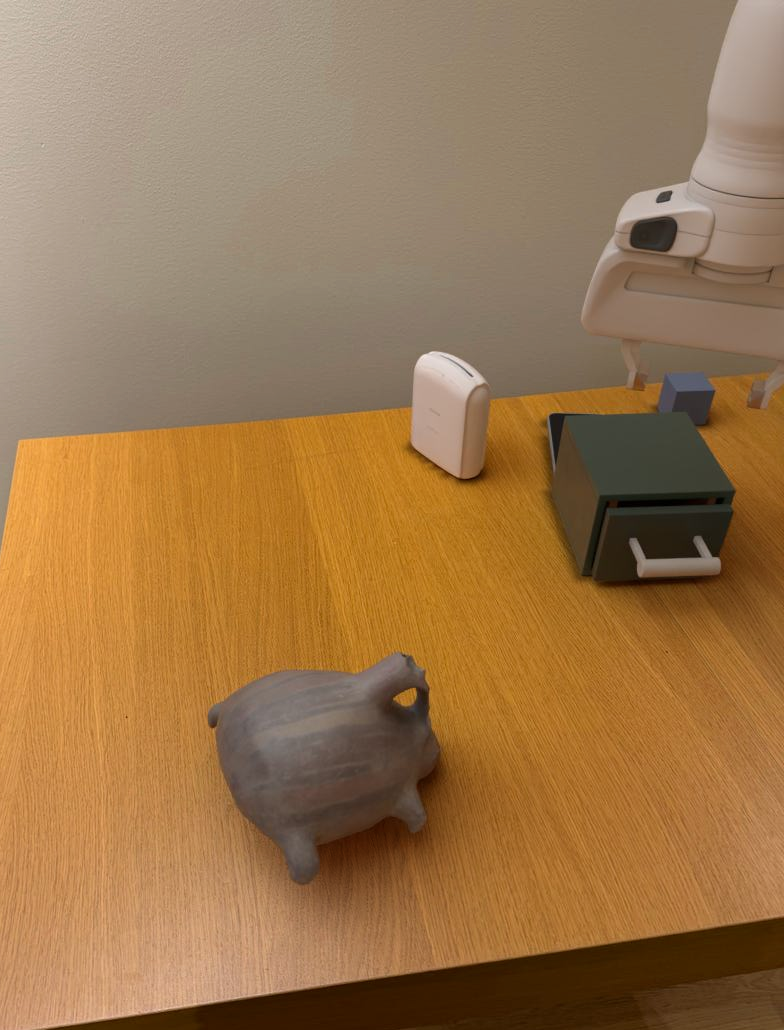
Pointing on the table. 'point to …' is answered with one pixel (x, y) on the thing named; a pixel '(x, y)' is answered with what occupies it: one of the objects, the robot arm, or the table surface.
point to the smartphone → (557, 432)
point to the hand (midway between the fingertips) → (694, 396)
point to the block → (687, 395)
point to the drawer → (661, 539)
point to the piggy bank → (326, 754)
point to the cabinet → (629, 470)
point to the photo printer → (450, 413)
